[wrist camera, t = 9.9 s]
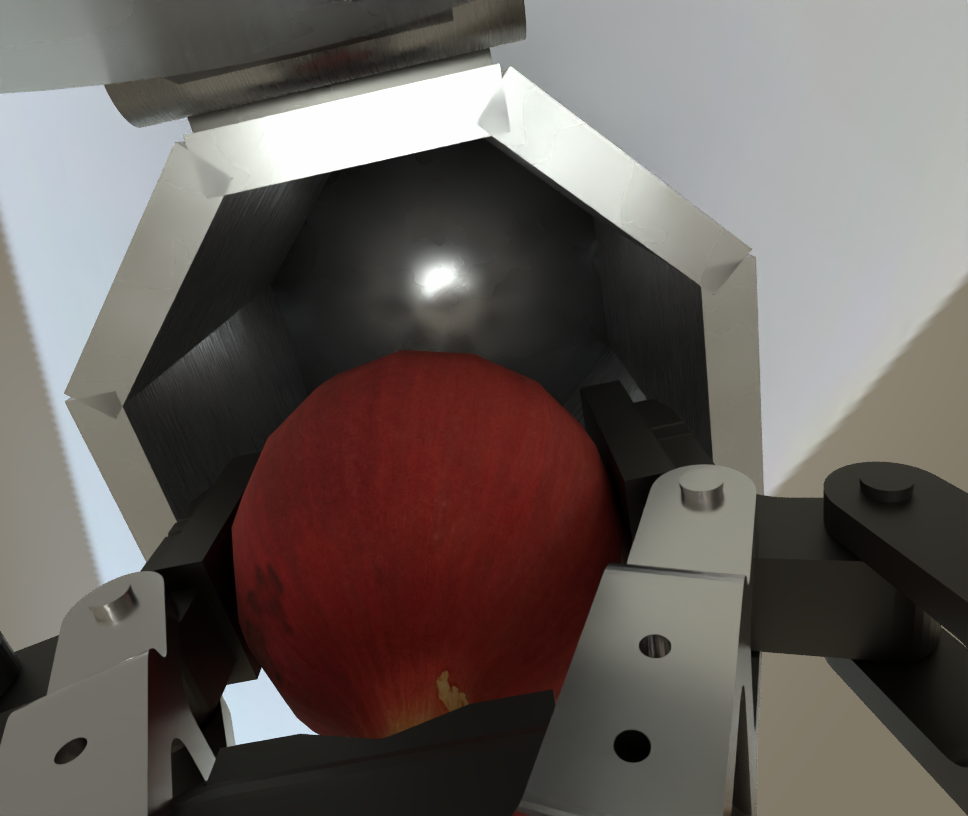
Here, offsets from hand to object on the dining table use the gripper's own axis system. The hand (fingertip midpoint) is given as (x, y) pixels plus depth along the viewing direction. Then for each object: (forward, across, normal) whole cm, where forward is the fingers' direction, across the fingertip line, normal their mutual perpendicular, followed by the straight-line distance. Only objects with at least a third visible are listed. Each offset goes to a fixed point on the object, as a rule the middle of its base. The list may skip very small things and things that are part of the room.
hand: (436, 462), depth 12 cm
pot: (+11, 0, 0) cm, 11 cm away
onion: (+1, 0, 0) cm, 1 cm away
